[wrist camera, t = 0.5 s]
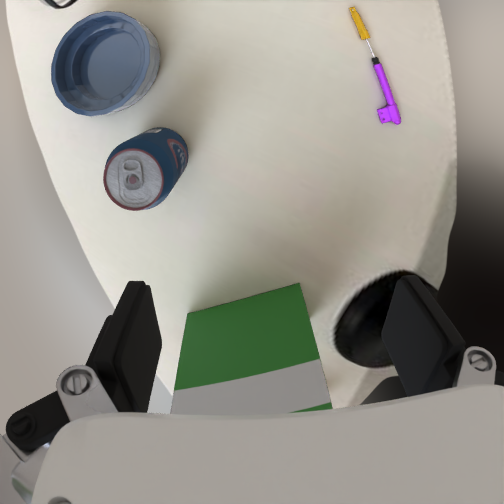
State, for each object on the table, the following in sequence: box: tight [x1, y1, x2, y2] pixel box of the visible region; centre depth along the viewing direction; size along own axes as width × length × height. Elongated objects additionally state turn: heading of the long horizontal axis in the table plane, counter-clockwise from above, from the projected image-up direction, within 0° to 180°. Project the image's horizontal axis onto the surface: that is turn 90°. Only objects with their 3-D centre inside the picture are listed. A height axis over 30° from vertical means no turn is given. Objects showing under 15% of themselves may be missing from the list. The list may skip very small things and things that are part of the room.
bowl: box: [51, 11, 160, 116], centre depth 29 cm, size 12×12×5 cm
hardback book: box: [170, 283, 333, 415], centre depth 39 cm, size 18×7×24 cm, turn 108°
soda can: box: [103, 128, 188, 211], centre depth 32 cm, size 7×7×12 cm
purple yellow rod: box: [349, 7, 401, 125], centre depth 32 cm, size 3×1×16 cm
